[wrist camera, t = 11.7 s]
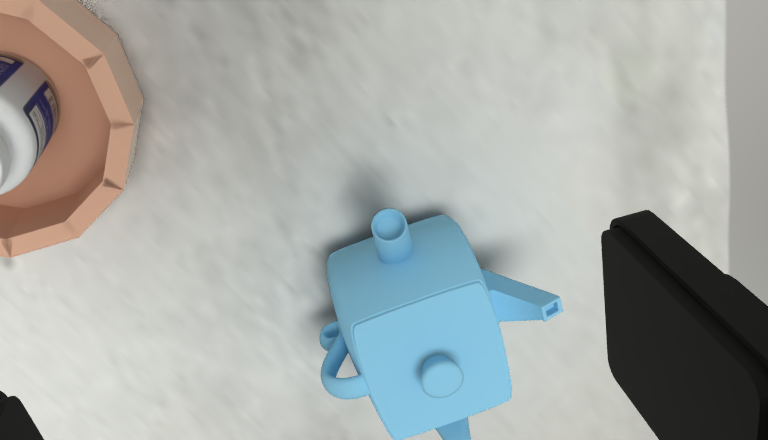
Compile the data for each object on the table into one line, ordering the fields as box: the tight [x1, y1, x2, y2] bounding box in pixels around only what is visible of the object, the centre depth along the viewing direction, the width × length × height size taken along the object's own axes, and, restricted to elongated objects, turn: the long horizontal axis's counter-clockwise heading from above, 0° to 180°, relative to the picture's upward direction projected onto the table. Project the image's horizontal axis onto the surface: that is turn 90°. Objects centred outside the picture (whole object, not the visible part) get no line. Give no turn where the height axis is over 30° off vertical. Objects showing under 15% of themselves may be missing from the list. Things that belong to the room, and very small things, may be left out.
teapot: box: [320, 208, 563, 440], centre depth 42 cm, size 18×14×10 cm
